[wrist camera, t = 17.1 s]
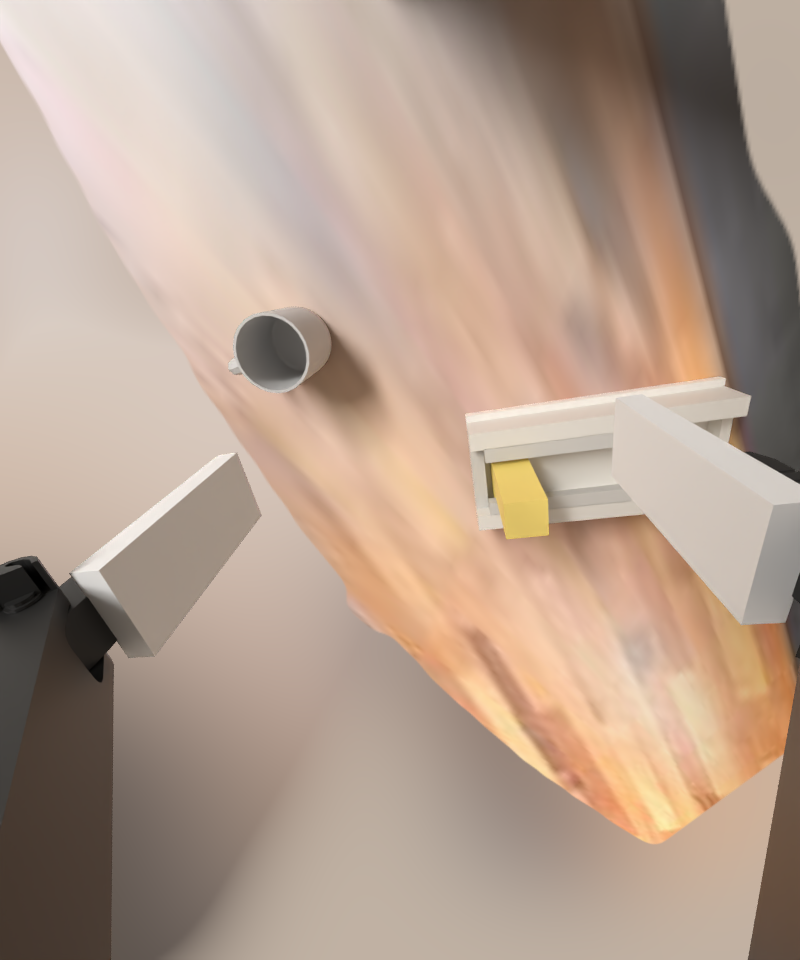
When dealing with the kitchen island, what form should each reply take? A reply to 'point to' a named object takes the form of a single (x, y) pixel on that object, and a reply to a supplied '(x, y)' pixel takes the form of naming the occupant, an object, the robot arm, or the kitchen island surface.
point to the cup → (280, 348)
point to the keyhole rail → (582, 445)
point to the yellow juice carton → (520, 499)
